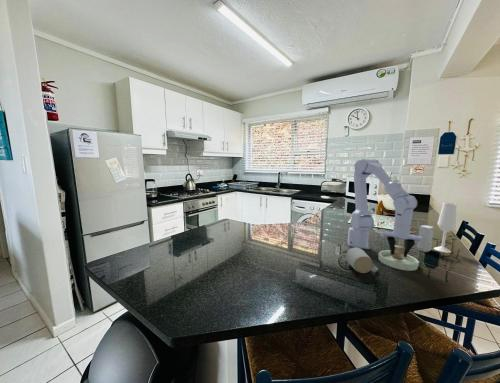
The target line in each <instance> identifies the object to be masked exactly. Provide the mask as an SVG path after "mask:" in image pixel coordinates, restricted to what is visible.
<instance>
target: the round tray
mask: <svg viewBox="0 0 500 383" xmlns="http://www.w3.org/2000/svg"><path fill="white" fill-rule="evenodd" d="M377 257H378V258H377V259H378V261H379V262H380V263H381V264H383V265H385V266H387V267H390V268H392V269H397V270H399V271H400V270H401V271H405V272H407V271H408V272H411V271H412V272H413V271H414V272H415V271H417V270H418V268H419V264H420V261H419V260H418V259H417V258H416V257H414V256H411V255H409V253H408V254H407V256H406V257H404V259H403V260H396V259H394V258H392V255H391V253H390V249H387V250H380V251H379V252H378V254H377Z"/></svg>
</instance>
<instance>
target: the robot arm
mask: <svg viewBox="0 0 500 383" xmlns="http://www.w3.org/2000/svg"><path fill="white" fill-rule="evenodd" d="M353 166H354V173H353V183H354V184H353V185H354V186H353V187H354V200H355V201H354V203H355V210H354V211H353V212H352V213H351V218H350V225H351V226H352V227H351V226H350V227H349V228H348V232H347V234H348V235H347V236H348V237H347V239H346V240H347V245H348V247H351V248H355V247H357V248H360V249H365V250H370V246H369V237H370V230H371V228H372V227H373V226H374V225H375V221H374V218H373V215H372V214H373V213H372V212H371V210H369V209H368V208H369V206H368V190H367V178H369V176H371V175H374V176H375V177H376V178H377V179H378V180H379V181H380V182H381V183H382V184H383V185H384V191H385V192H386V193H387V194H388V196H389V197H390V198H391V199H392V203H393V204H392V205H393V207H394V208H395V209H394V212H395V213H394V214H395V215H394V223H393V229H392V231H382V230H381V231H380V233H379V235H380V238H386V239H387V242H388V244H389V250H390V253H391V255H394V247H395V245H396V242H397V241H396V239H399V240H404V242H403V244H404V245H403V247H404V248H405V252H404V257H406V256H407V254H408V255H409V252H410V251H411V249H412V248H413V247H414V246H415V245H416V242H418V241H419V242H422V240H423V238H422V237H421V236H419V235H416V234H411V226H412V218H413V215H414V214H413V213H414V209H416V208H417V206H418V200H417V199H416V197H415V196H414V195H411V194H409V192H408V191H406V190H405V189H404V188H403V187H402V184H401V182H397V181H393V180H392V179H391V178H390V176H389V175H388V173H387V172H386V170H385V169H384V168H383V165H382V163H380V161H379V160H378V159H374V158H373V159H369V158H359V159H357V161H356V162H355V163H354V165H353Z"/></svg>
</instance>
